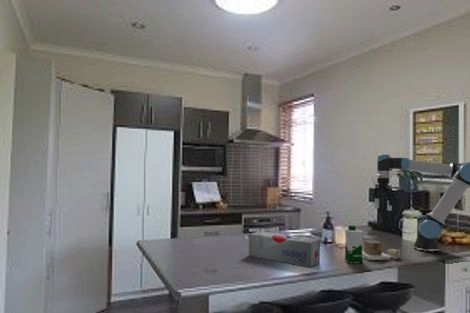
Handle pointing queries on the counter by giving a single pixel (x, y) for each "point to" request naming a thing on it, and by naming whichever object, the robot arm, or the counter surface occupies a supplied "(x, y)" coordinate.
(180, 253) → the counter surface
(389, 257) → the tile
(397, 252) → the maple block
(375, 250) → the walnut cube
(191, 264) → the counter surface
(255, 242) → the soda pack
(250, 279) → the counter surface
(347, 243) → the soya milk
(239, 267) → the counter surface
